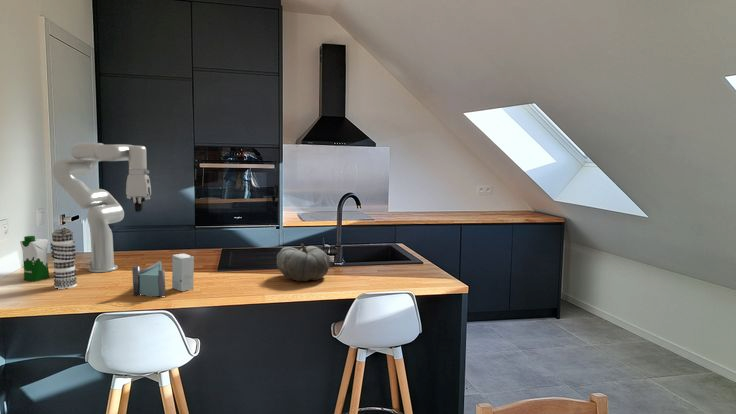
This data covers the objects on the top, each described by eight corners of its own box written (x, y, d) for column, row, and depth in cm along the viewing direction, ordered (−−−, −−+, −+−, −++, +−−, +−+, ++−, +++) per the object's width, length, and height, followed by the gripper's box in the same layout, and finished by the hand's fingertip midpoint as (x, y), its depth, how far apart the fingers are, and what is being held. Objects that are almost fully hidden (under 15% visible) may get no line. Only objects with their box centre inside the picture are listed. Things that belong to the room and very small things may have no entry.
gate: (141, 291, 213) (140, 271, 212) (137, 291, 213) (136, 271, 212) (162, 279, 231) (161, 261, 230) (158, 279, 231) (158, 261, 230)
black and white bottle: (51, 285, 222) (48, 229, 219) (76, 282, 228) (72, 227, 225) (54, 290, 215) (50, 232, 212) (79, 287, 221) (76, 230, 217)
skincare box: (171, 288, 221) (170, 254, 219) (184, 285, 226) (183, 252, 224) (182, 292, 216) (181, 258, 214) (195, 289, 220) (194, 255, 218)
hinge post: (132, 295, 210) (130, 267, 208) (136, 293, 213) (134, 265, 211) (138, 296, 210) (137, 267, 208) (142, 294, 212) (141, 266, 211)
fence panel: (139, 296, 210) (138, 270, 208) (143, 294, 212) (142, 268, 211) (163, 297, 208) (162, 271, 207) (166, 296, 210) (165, 270, 209)
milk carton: (20, 280, 230) (17, 236, 227) (39, 275, 238) (36, 233, 235) (34, 282, 227) (31, 238, 224) (53, 277, 235) (50, 234, 233)
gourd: (263, 273, 238) (270, 237, 237) (300, 271, 258) (307, 238, 257) (300, 288, 223) (308, 250, 222) (337, 285, 243) (344, 250, 242)
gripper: (157, 172, 240) (158, 211, 243) (126, 171, 241) (127, 209, 243) (149, 173, 233) (150, 213, 235) (117, 172, 233) (118, 211, 236)
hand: (138, 211), depth 239 cm, fingers closed
